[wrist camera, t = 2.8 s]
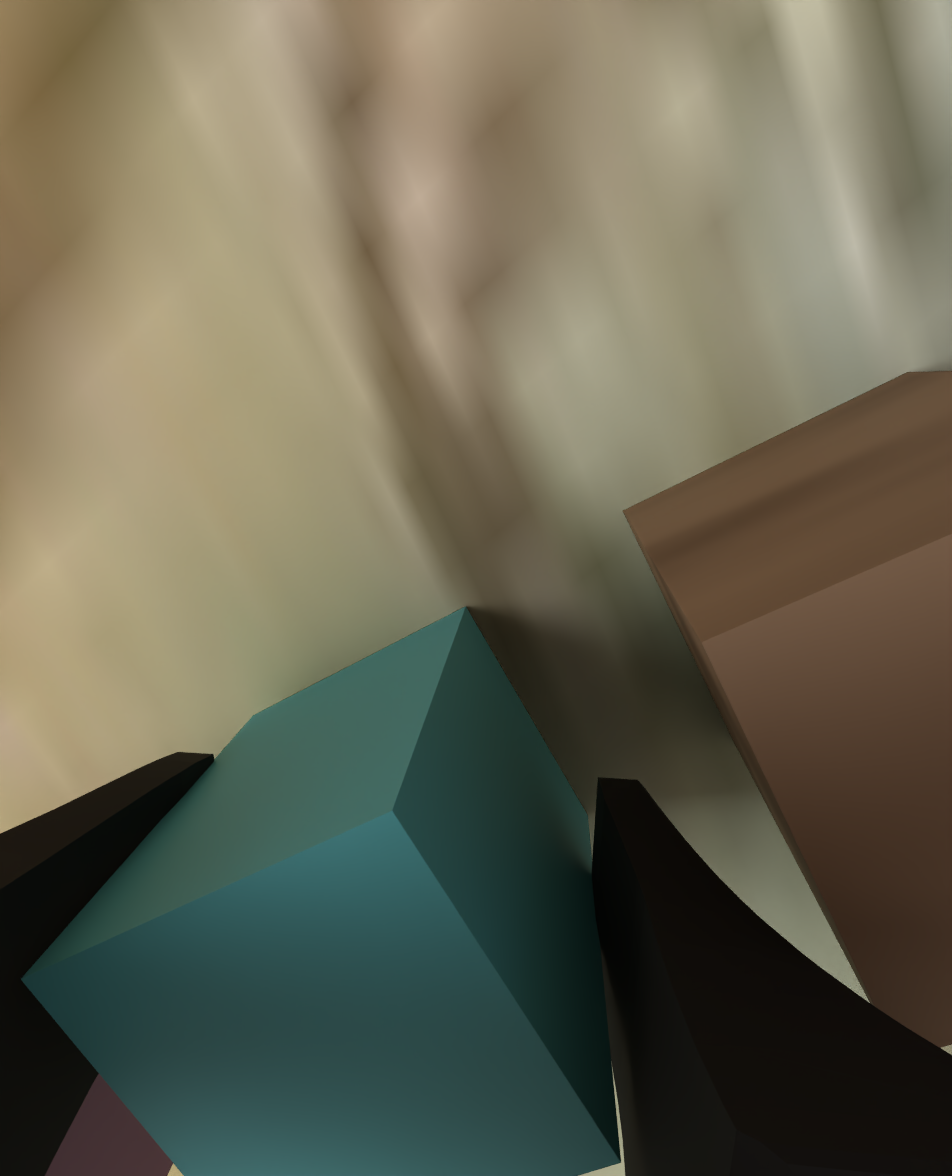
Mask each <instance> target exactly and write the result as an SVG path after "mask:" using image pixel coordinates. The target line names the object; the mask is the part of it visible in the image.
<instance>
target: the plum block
mask: <svg viewBox="0 0 952 1176" xmlns="http://www.w3.org/2000/svg"><path fill="white" fill-rule="evenodd" d="M172 1164H173V1162H172V1161H171V1160H170V1158H169V1157H168V1156H167V1155H166V1154H165V1152H164V1151H163V1150H162V1149H161V1148H160V1146H159V1145H158V1144H157V1143H156V1142H155V1140H154V1139H153V1138H152V1137H151V1135H150V1134H149V1133H148V1132H147V1131H146V1129H145V1128H144V1127H143V1126H142V1125H141V1123H140V1122H139V1121H138V1120H137V1119H136V1117H135V1116H134V1115H133V1114H132V1113H131V1111H130V1110H129V1109H128V1108H127V1107H126V1105H125V1104H124V1103H123V1102H122V1101H121V1099H120V1098H119V1097H118V1096H117V1095H116V1093H115V1092H114V1091H113V1090H112V1089H111V1087H110V1086H109V1085H108V1084H107V1083H106V1081H105V1080H104V1079H103V1078H102V1076H101V1075H100V1074H98V1076H97V1077H96V1079H95V1081H94V1082H93V1084H92V1086H91V1088H90V1090H89V1092H88V1094H87V1096H86V1098H85V1099H84V1101H83V1103H82V1105H81V1107H80V1109H79V1111H78V1113H77V1115H76V1117H75V1118H74V1120H73V1122H72V1124H71V1126H70V1128H69V1130H68V1132H67V1134H66V1136H65V1137H64V1139H63V1141H62V1143H61V1145H60V1147H59V1149H58V1151H57V1153H56V1155H55V1157H54V1158H53V1161H52V1163H51V1165H50V1167H49V1169H48V1171H47V1173H46V1175H45V1176H167V1175H168V1173H169V1171H170V1169H171V1166H172Z"/></svg>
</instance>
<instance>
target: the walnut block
mask: <svg viewBox="0 0 952 1176" xmlns="http://www.w3.org/2000/svg"><path fill="white" fill-rule="evenodd" d="M623 512H624V514H625V517H626V519H627V521H628V523H629V525H630V527H631V529H632V531H633V533H634V535H635V537H636V539H637V541H638V544H639V546H640V548H641V550H642V552H643V554H644V556H645V558H646V560H647V562H648V564H649V566H650V569H651V571H652V573H653V575H654V577H655V579H656V581H657V583H658V585H659V587H660V589H661V591H662V594H663V596H664V598H665V600H666V602H667V604H668V606H669V608H670V610H671V612H672V614H673V616H674V619H675V621H676V623H677V625H678V627H679V629H680V631H681V633H682V635H683V637H684V639H685V641H686V644H687V646H688V648H689V650H690V652H691V654H692V656H693V658H694V660H695V662H696V664H697V666H698V669H699V671H700V673H701V675H702V677H703V679H704V681H705V683H706V685H707V687H708V689H709V691H710V694H711V696H712V698H713V700H714V702H715V704H716V706H717V708H718V710H719V712H720V714H721V716H722V719H723V721H724V723H725V725H726V727H727V729H728V731H729V733H730V735H731V737H732V739H733V741H734V743H735V745H736V747H737V749H738V751H739V753H740V755H741V757H742V759H743V761H744V762H745V764H746V766H747V768H748V770H749V772H750V774H751V776H752V778H753V780H754V782H755V784H756V785H757V787H758V789H759V791H760V793H761V795H762V797H763V799H764V801H765V803H766V805H767V806H768V808H769V810H770V812H771V814H772V816H773V818H774V820H775V822H776V824H777V826H778V828H779V829H780V831H781V833H782V835H783V837H784V839H785V841H786V843H787V845H788V847H789V849H790V850H791V852H792V854H793V856H794V858H795V860H796V862H797V864H798V866H799V868H800V870H801V872H802V873H803V875H804V877H805V879H806V881H807V883H808V885H809V887H810V889H811V891H812V893H813V894H814V896H815V898H816V900H817V902H818V904H819V906H820V908H821V910H822V912H823V914H824V916H825V917H826V919H827V921H828V923H829V925H830V927H831V929H832V931H833V933H834V935H835V937H836V938H837V940H838V942H839V944H840V946H841V948H842V950H843V952H844V954H845V956H846V958H847V960H848V961H849V963H850V965H851V967H852V969H853V971H854V973H855V975H856V977H857V979H858V981H859V982H860V984H861V986H862V988H863V990H864V992H865V994H866V996H867V998H868V1000H869V1002H870V1004H872V1005H873V1006H875V1007H876V1008H878V1009H879V1010H881V1011H882V1012H884V1013H885V1014H887V1015H888V1016H890V1017H891V1018H893V1019H894V1020H896V1021H897V1022H899V1023H900V1024H902V1025H903V1026H905V1027H907V1028H908V1029H910V1030H912V1031H913V1032H915V1033H916V1034H918V1035H920V1036H921V1037H923V1038H925V1039H926V1040H928V1041H929V1042H931V1043H933V1044H934V1045H936V1046H938V1047H939V1048H940V1047H944V1046H947V1045H951V1044H952V371H934V372H907V373H905V374H903V375H901V376H899V377H897V378H895V379H892V380H890V381H888V382H886V383H884V384H882V385H880V386H878V387H876V388H874V389H872V390H870V391H868V392H866V393H864V394H862V395H860V396H858V397H856V398H853V399H851V400H849V401H847V402H845V403H843V404H841V405H839V406H837V407H835V408H833V409H831V410H829V411H827V412H825V413H823V414H821V415H819V416H816V417H814V418H812V419H810V420H808V421H806V422H804V423H802V424H800V425H798V426H796V427H794V428H792V429H790V430H788V431H786V432H784V433H782V434H780V435H777V436H775V437H773V438H771V439H769V440H767V441H765V442H763V443H761V444H759V445H757V446H755V447H753V448H751V449H749V450H747V451H745V452H743V453H740V454H738V455H736V456H734V457H732V458H730V459H728V460H726V461H724V462H722V463H720V464H718V465H716V466H714V467H712V468H710V469H708V470H706V471H704V472H701V473H699V474H697V475H695V476H693V477H691V478H689V479H687V480H685V481H683V482H681V483H679V484H677V485H675V486H673V487H671V488H669V489H667V490H664V491H662V492H660V493H658V494H656V495H654V496H652V497H650V498H648V499H646V500H644V501H642V502H640V503H638V504H636V505H634V506H632V507H630V508H628V509H625V510H623Z"/></svg>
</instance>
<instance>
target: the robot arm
mask: <svg viewBox="0 0 952 1176" xmlns="http://www.w3.org/2000/svg"><path fill="white" fill-rule="evenodd" d="M213 762H214V755H213V754H201V753H185V752H177V753H174V754H171V755H169V756H166V757H163V758H161V759H159V760H156V761H154V762H152V763H149V764H147V765H145V766H143V767H141V768H139V769H137V770H134V771H132V772H130V773H128V774H126V775H124V776H122V777H120V778H118V779H116V780H114V781H112V782H110V783H108V784H106V785H103V786H101V787H99V788H97V789H95V790H93V791H91V792H89V793H87V794H85V795H83V796H81V797H79V798H77V799H75V800H73V801H71V802H69V803H67V804H64V805H62V806H60V807H58V808H56V809H54V810H52V811H50V812H47V813H45V814H43V815H41V816H38V817H36V818H34V819H32V820H30V821H27V822H25V823H23V824H21V825H19V826H16V827H14V828H12V829H10V830H7V831H5V832H3V833H1V834H0V1176H45V1175H46V1173H47V1171H48V1169H49V1167H50V1165H51V1163H52V1161H53V1158H54V1157H55V1155H56V1153H57V1151H58V1149H59V1147H60V1145H61V1143H62V1141H63V1139H64V1137H65V1136H66V1134H67V1132H68V1130H69V1128H70V1126H71V1124H72V1122H73V1120H74V1118H75V1117H76V1115H77V1113H78V1111H79V1109H80V1107H81V1105H82V1103H83V1101H84V1099H85V1098H86V1096H87V1094H88V1092H89V1090H90V1088H91V1086H92V1084H93V1082H94V1081H95V1079H96V1077H97V1076H98V1074H99V1073H98V1072H97V1070H96V1069H95V1068H94V1067H93V1066H92V1064H91V1063H90V1062H89V1061H88V1060H87V1058H86V1057H85V1056H84V1055H83V1054H82V1052H81V1051H80V1050H79V1049H78V1048H77V1046H76V1045H75V1044H74V1043H73V1042H72V1040H71V1039H70V1038H69V1037H68V1036H67V1034H66V1033H65V1032H64V1031H63V1030H62V1028H61V1027H60V1026H59V1025H58V1024H57V1022H56V1021H55V1020H54V1019H53V1017H52V1016H51V1015H50V1014H49V1013H48V1011H47V1010H46V1009H45V1008H44V1007H43V1005H42V1004H41V1003H40V1002H39V1001H38V999H37V998H36V997H35V996H34V995H33V993H32V992H31V991H30V990H29V989H28V987H27V986H26V985H25V984H24V983H23V981H22V980H21V978H22V977H23V976H24V975H25V974H26V972H27V971H28V970H29V969H30V968H31V967H32V966H33V965H34V963H35V962H36V961H37V960H38V959H39V958H40V957H41V955H42V954H43V953H44V952H45V951H46V950H47V949H48V948H49V946H50V945H51V944H52V943H53V942H54V941H55V940H56V938H57V937H58V936H59V935H60V934H61V933H62V932H63V931H64V929H65V928H66V927H67V926H68V925H69V924H70V923H71V921H72V920H73V919H74V918H75V917H76V916H77V915H78V914H79V912H80V911H81V910H82V909H83V908H84V907H85V906H86V904H87V903H88V902H89V901H90V900H91V899H92V898H93V897H94V895H95V894H96V893H97V892H98V891H99V890H100V889H101V887H102V886H103V885H104V884H105V883H106V882H107V881H108V880H109V878H110V877H111V876H112V875H113V874H114V873H115V872H116V870H117V869H118V868H119V867H120V866H121V865H122V864H123V863H124V861H125V860H126V859H127V858H128V857H129V856H130V855H131V853H132V852H133V851H134V850H135V849H136V848H137V847H138V846H139V844H140V843H141V842H142V841H143V840H144V839H145V838H146V836H147V835H148V834H149V833H150V832H151V831H152V830H153V829H154V827H155V826H156V825H157V824H158V823H159V822H160V821H161V819H162V818H163V817H164V816H165V815H166V814H167V813H168V812H169V811H170V810H171V809H172V808H173V807H174V806H175V805H176V804H177V803H178V802H179V801H180V799H181V798H182V797H183V796H184V795H185V794H186V793H187V792H188V791H189V789H190V788H191V787H192V786H193V785H194V784H195V783H196V781H197V780H198V779H199V778H200V777H201V776H202V775H203V774H204V772H205V771H206V770H207V769H208V768H209V767H210V766H211V764H212V763H213ZM591 874H592V884H593V895H594V906H595V917H596V924H597V929H598V935H599V941H600V949H601V959H602V970H603V980H604V991H605V1001H606V1012H607V1022H608V1032H609V1043H610V1053H611V1061H612V1067H613V1073H614V1080H615V1086H616V1092H617V1098H618V1105H619V1113H620V1121H621V1129H622V1137H623V1149H624V1163H625V1176H952V1055H951V1054H949V1053H947V1052H946V1051H944V1050H942V1049H941V1048H939V1047H938V1046H936V1045H934V1044H933V1043H931V1042H929V1041H928V1040H926V1039H925V1038H923V1037H921V1036H920V1035H918V1034H916V1033H915V1032H913V1031H912V1030H910V1029H908V1028H907V1027H905V1026H903V1025H902V1024H900V1023H899V1022H897V1021H896V1020H894V1019H893V1018H891V1017H890V1016H888V1015H887V1014H885V1013H884V1012H882V1011H881V1010H879V1009H878V1008H876V1007H875V1006H873V1005H872V1004H870V1003H869V1002H867V1001H866V1000H864V999H863V998H862V997H860V996H859V995H858V994H856V993H855V992H853V991H852V990H851V989H849V988H848V987H847V986H845V985H844V984H842V983H841V982H840V981H838V980H837V979H835V978H834V977H833V976H831V975H830V974H829V973H827V972H826V971H824V970H823V969H822V968H820V967H819V966H818V965H817V964H815V963H814V962H813V961H811V960H810V959H809V958H808V957H806V956H805V955H804V954H802V953H801V952H800V951H799V950H797V949H796V948H795V947H794V946H793V945H792V944H790V943H789V942H788V941H787V940H786V939H784V938H783V937H782V936H781V935H780V934H779V933H777V932H776V931H775V930H774V929H773V928H772V927H770V926H769V925H768V924H767V923H766V922H765V921H763V920H762V919H761V918H760V917H759V916H758V915H757V914H756V913H754V912H753V911H752V910H751V909H750V908H749V907H748V906H747V905H746V904H745V903H744V902H743V901H742V900H741V899H740V898H739V897H738V896H737V895H736V894H735V893H734V892H733V891H732V890H731V889H730V888H729V887H728V886H727V885H726V884H725V883H724V882H723V881H722V880H721V879H720V878H719V877H718V876H717V875H716V874H715V873H714V872H713V871H712V870H711V869H710V867H709V866H708V865H707V864H706V863H705V862H704V861H703V859H702V858H701V857H700V856H699V855H698V854H697V853H696V851H695V850H694V849H693V848H692V847H691V846H690V845H689V843H688V842H687V841H686V840H685V839H684V838H683V836H682V835H681V834H680V833H679V832H678V830H677V829H676V828H675V827H674V825H673V824H672V823H671V822H670V820H669V819H668V818H667V817H666V815H665V814H664V813H663V811H662V810H661V809H660V807H659V806H658V805H657V804H656V802H655V801H654V800H653V798H652V797H651V796H650V794H649V793H648V792H647V790H646V789H645V788H644V787H643V785H642V784H641V783H640V782H639V781H638V780H631V779H614V778H598V785H597V800H596V814H595V829H594V844H593V859H592V873H591Z"/></svg>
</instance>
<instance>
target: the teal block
mask: <svg viewBox="0 0 952 1176" xmlns="http://www.w3.org/2000/svg"><path fill="white" fill-rule="evenodd" d="M591 873H592V855H591V844H590V834H589V824H588V815H587V813H586V812H585V810H584V808H583V807H582V805H581V803H580V801H579V800H578V798H577V796H576V795H575V793H574V791H573V789H572V788H571V786H570V784H569V782H568V781H567V779H566V777H565V776H564V774H563V772H562V770H561V769H560V767H559V765H558V764H557V762H556V760H555V758H554V757H553V755H552V753H551V752H550V750H549V748H548V746H547V745H546V743H545V741H544V740H543V738H542V736H541V734H540V733H539V731H538V729H537V728H536V726H535V724H534V722H533V721H532V719H531V717H530V716H529V714H528V712H527V710H526V709H525V707H524V705H523V704H522V702H521V700H520V698H519V697H518V695H517V693H516V692H515V690H514V688H513V686H512V685H511V683H510V681H509V680H508V678H507V676H506V674H505V673H504V671H503V669H502V668H501V666H500V664H499V662H498V661H497V659H496V657H495V656H494V654H493V652H492V650H491V649H490V647H489V645H488V644H487V642H486V640H485V638H484V637H483V635H482V633H481V631H480V630H479V628H478V626H477V625H476V623H475V621H474V619H473V618H472V616H471V614H470V613H469V611H468V609H467V607H466V606H465V607H463V608H461V609H460V610H458V611H456V612H454V613H452V614H450V615H448V616H446V617H444V618H442V619H440V620H438V621H436V622H434V623H432V624H430V625H428V626H426V627H424V628H423V629H421V630H419V631H417V632H415V633H413V634H411V635H409V636H407V637H405V638H403V639H401V640H399V641H397V642H395V643H393V644H391V645H389V646H388V647H386V648H384V649H382V650H380V651H378V652H376V653H374V654H372V655H370V656H368V657H366V658H364V659H362V660H360V661H358V662H356V663H354V664H352V665H351V666H349V667H347V668H345V669H343V670H341V671H339V672H337V673H335V674H333V675H331V676H329V677H327V678H325V679H323V680H321V681H319V682H317V683H315V684H314V685H312V686H310V687H308V688H306V689H304V690H302V691H300V692H298V693H296V694H294V695H292V696H290V697H288V698H286V699H284V700H282V701H280V702H279V703H277V704H275V705H273V706H271V707H269V708H267V709H265V710H263V711H261V712H259V713H257V714H255V715H253V716H252V717H251V719H250V720H249V721H248V722H247V723H246V724H245V725H244V727H243V728H242V729H241V730H240V731H239V732H238V733H237V734H236V736H235V737H234V738H233V739H232V740H231V741H230V742H229V744H228V745H227V746H226V747H225V748H224V749H223V750H222V751H221V753H220V754H219V755H218V756H217V757H216V758H215V759H214V762H213V763H212V764H211V766H210V767H209V768H208V769H207V770H206V771H205V772H204V774H203V775H202V776H201V777H200V778H199V779H198V780H197V781H196V783H195V784H194V785H193V786H192V787H191V788H190V789H189V791H188V792H187V793H186V794H185V795H184V796H183V797H182V798H181V799H180V801H179V802H178V803H177V804H176V805H175V806H174V807H173V808H172V809H171V810H170V811H169V812H168V813H167V814H166V815H165V816H164V817H163V818H162V819H161V821H160V822H159V823H158V824H157V825H156V826H155V827H154V829H153V830H152V831H151V832H150V833H149V834H148V835H147V836H146V838H145V839H144V840H143V841H142V842H141V843H140V844H139V846H138V847H137V848H136V849H135V850H134V851H133V852H132V853H131V855H130V856H129V857H128V858H127V859H126V860H125V861H124V863H123V864H122V865H121V866H120V867H119V868H118V869H117V870H116V872H115V873H114V874H113V875H112V876H111V877H110V878H109V880H108V881H107V882H106V883H105V884H104V885H103V886H102V887H101V889H100V890H99V891H98V892H97V893H96V894H95V895H94V897H93V898H92V899H91V900H90V901H89V902H88V903H87V904H86V906H85V907H84V908H83V909H82V910H81V911H80V912H79V914H78V915H77V916H76V917H75V918H74V919H73V920H72V921H71V923H70V924H69V925H68V926H67V927H66V928H65V929H64V931H63V932H62V933H61V934H60V935H59V936H58V937H57V938H56V940H55V941H54V942H53V943H52V944H51V945H50V946H49V948H48V949H47V950H46V951H45V952H44V953H43V954H42V955H41V957H40V958H39V959H38V960H37V961H36V962H35V963H34V965H33V966H32V967H31V968H30V969H29V970H28V971H27V972H26V974H25V975H24V976H23V977H22V978H21V980H22V981H23V983H24V984H25V985H26V986H27V987H28V989H29V990H30V991H31V992H32V993H33V995H34V996H35V997H36V998H37V999H38V1001H39V1002H40V1003H41V1004H42V1005H43V1007H44V1008H45V1009H46V1010H47V1011H48V1013H49V1014H50V1015H51V1016H52V1017H53V1019H54V1020H55V1021H56V1022H57V1024H58V1025H59V1026H60V1027H61V1028H62V1030H63V1031H64V1032H65V1033H66V1034H67V1036H68V1037H69V1038H70V1039H71V1040H72V1042H73V1043H74V1044H75V1045H76V1046H77V1048H78V1049H79V1050H80V1051H81V1052H82V1054H83V1055H84V1056H85V1057H86V1058H87V1060H88V1061H89V1062H90V1063H91V1064H92V1066H93V1067H94V1068H95V1069H96V1070H97V1072H98V1073H99V1074H100V1075H101V1076H102V1078H103V1079H104V1080H105V1081H106V1083H107V1084H108V1085H109V1086H110V1087H111V1089H112V1090H113V1091H114V1092H115V1093H116V1095H117V1096H118V1097H119V1098H120V1099H121V1101H122V1102H123V1103H124V1104H125V1105H126V1107H127V1108H128V1109H129V1110H130V1111H131V1113H132V1114H133V1115H134V1116H135V1117H136V1119H137V1120H138V1121H139V1122H140V1123H141V1125H142V1126H143V1127H144V1128H145V1129H146V1131H147V1132H148V1133H149V1134H150V1135H151V1137H152V1138H153V1139H154V1140H155V1142H156V1143H157V1144H158V1145H159V1146H160V1148H161V1149H162V1150H163V1151H164V1152H165V1154H166V1155H167V1156H168V1157H169V1158H170V1160H171V1161H172V1162H173V1163H174V1164H175V1166H176V1167H177V1168H178V1169H179V1170H180V1172H181V1173H182V1174H183V1175H184V1176H578V1175H581V1174H585V1173H588V1172H591V1171H595V1170H598V1169H601V1168H605V1167H608V1166H611V1165H615V1164H618V1163H621V1158H620V1147H619V1137H618V1126H617V1116H616V1106H615V1095H614V1085H613V1074H612V1064H611V1053H610V1043H609V1032H608V1022H607V1012H606V1001H605V991H604V980H603V970H602V959H601V949H600V941H599V935H598V929H597V924H596V917H595V906H594V895H593V884H592V874H591Z"/></svg>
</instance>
